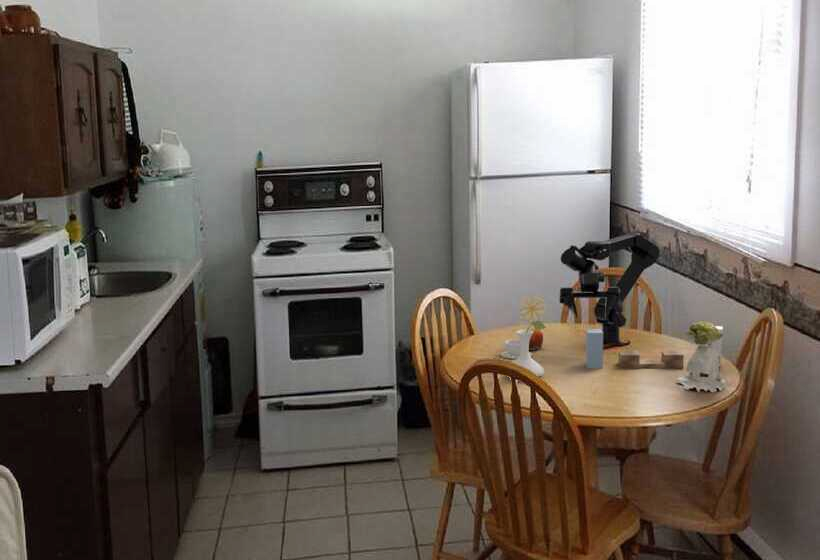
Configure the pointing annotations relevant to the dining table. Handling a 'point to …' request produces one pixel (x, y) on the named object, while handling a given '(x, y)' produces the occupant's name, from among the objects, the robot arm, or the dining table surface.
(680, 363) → the slotted plank
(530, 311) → the flower in vase
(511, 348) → the teacup
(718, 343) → the skincare box
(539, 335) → the fruit
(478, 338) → the dining table surface
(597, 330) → the blue block
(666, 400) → the dining table surface
